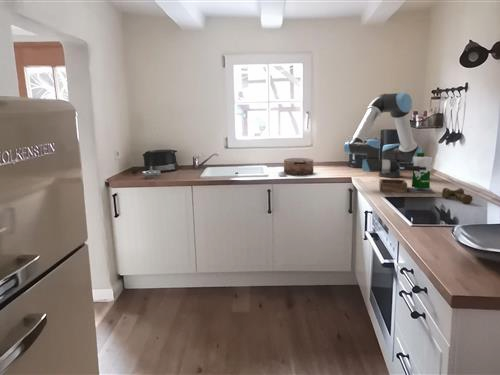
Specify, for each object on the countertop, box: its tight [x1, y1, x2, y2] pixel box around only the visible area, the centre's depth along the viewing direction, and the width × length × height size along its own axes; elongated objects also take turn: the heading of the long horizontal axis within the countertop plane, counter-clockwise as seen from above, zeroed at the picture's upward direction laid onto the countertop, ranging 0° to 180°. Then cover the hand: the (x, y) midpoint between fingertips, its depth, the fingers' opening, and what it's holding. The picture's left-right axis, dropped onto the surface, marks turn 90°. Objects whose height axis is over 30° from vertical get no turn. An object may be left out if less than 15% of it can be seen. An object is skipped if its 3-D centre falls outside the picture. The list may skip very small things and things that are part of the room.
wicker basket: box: [283, 157, 314, 176], centre depth 295 cm, size 30×22×11 cm
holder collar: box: [378, 178, 408, 193], centre depth 230 cm, size 14×14×5 cm
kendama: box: [441, 187, 473, 205], centre depth 202 cm, size 6×10×20 cm
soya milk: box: [411, 152, 433, 189], centre depth 224 cm, size 9×9×20 cm
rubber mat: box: [407, 186, 435, 195], centre depth 226 cm, size 13×13×1 cm
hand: (430, 167), depth 222 cm, fingers closed on soya milk, 9 cm apart
